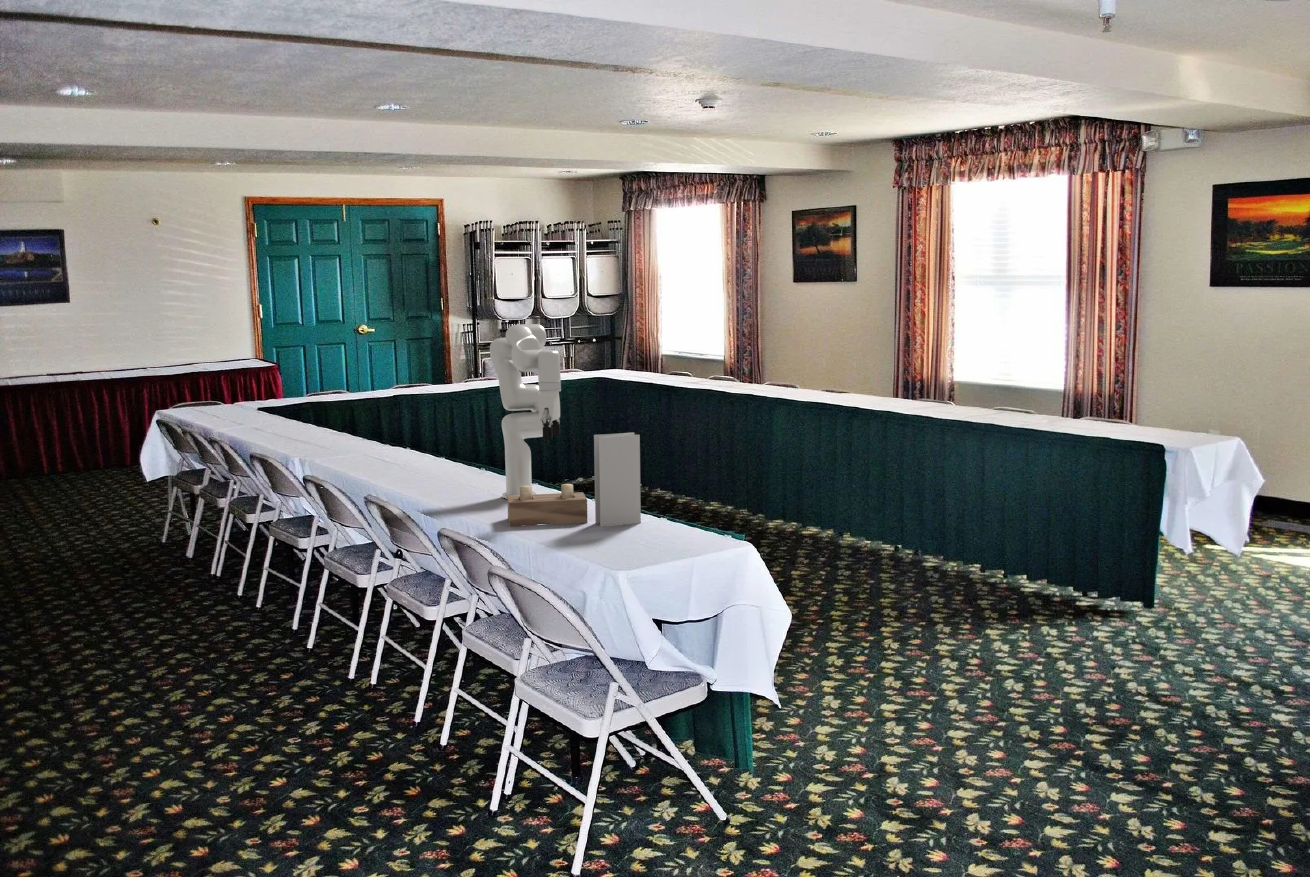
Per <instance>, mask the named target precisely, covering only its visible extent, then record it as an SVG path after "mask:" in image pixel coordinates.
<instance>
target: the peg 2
mask: <svg viewBox="0 0 1310 877" xmlns="http://www.w3.org/2000/svg"><path fill="white" fill-rule="evenodd" d="M560 486H561V487H560V488H561V491H560V493H561V495H562V498H573V493H574V484H573V483H564V484H563V483H562V484H561V485H560Z"/></svg>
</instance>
